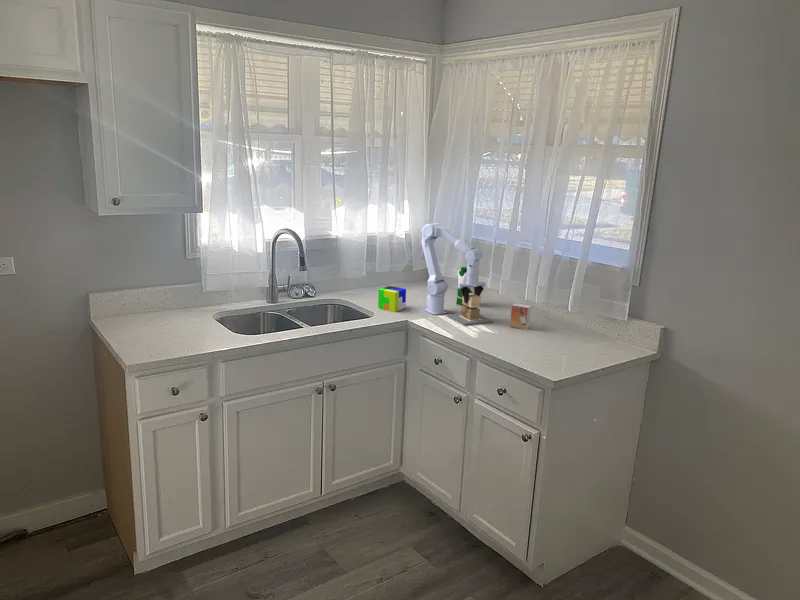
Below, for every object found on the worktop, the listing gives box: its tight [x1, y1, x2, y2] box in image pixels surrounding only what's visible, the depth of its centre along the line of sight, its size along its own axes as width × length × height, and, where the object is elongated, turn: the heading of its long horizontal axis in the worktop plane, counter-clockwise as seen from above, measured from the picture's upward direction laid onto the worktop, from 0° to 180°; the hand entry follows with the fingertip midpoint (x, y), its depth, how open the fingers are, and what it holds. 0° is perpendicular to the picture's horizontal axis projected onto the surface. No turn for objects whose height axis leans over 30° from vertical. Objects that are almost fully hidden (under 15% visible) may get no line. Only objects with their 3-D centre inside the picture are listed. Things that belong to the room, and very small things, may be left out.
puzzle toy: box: [377, 285, 407, 313], centre depth 307 cm, size 10×10×10 cm
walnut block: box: [460, 306, 481, 320], centre depth 292 cm, size 8×5×5 cm, turn 26°
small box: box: [509, 302, 532, 331], centre depth 283 cm, size 8×6×10 cm
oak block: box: [462, 293, 482, 308], centre depth 290 cm, size 8×5×5 cm, turn 26°
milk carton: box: [455, 266, 474, 307], centre depth 318 cm, size 9×9×20 cm
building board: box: [446, 313, 494, 326], centre depth 293 cm, size 16×16×1 cm
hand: (470, 302), depth 291 cm, fingers closed on oak block, 5 cm apart
